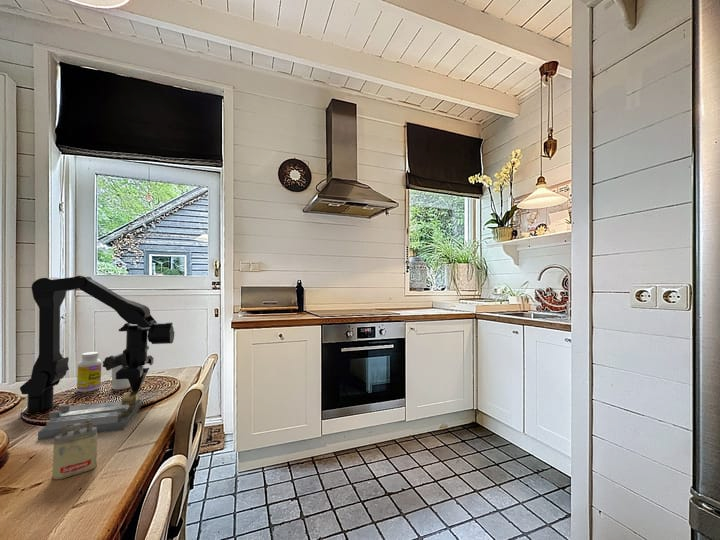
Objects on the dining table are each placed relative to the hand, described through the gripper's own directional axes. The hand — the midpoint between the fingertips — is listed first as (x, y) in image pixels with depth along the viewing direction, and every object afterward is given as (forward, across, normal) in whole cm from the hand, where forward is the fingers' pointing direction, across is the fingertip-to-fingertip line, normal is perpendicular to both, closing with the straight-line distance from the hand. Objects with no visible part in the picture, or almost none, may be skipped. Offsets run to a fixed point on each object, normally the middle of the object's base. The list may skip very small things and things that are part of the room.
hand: (135, 393), depth 109 cm
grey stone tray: (+3, +12, -6) cm, 14 cm away
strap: (0, +14, -6) cm, 16 cm away
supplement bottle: (+3, -20, -19) cm, 28 cm away
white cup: (+3, -20, -9) cm, 22 cm away
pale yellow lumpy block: (+1, +7, 0) cm, 7 cm away
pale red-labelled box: (+3, +40, -1) cm, 40 cm away
